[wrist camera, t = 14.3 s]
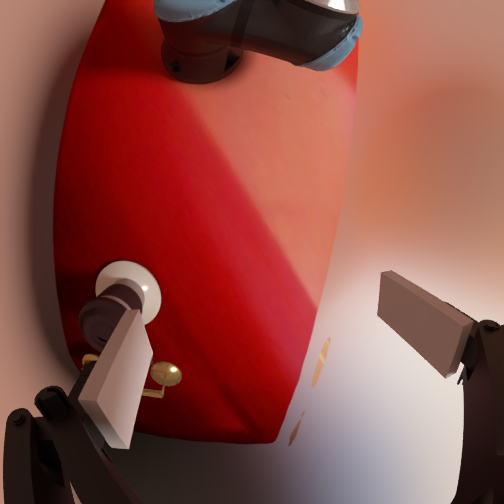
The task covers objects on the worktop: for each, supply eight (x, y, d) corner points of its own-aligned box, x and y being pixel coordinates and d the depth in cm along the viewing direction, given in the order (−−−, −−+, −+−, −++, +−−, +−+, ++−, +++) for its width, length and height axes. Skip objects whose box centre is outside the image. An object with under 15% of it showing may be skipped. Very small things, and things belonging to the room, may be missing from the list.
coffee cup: (132, 261, 47) (104, 293, 33) (161, 304, 50) (145, 348, 35) (96, 285, 47) (63, 321, 33) (125, 324, 50) (102, 369, 36)
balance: (86, 342, 51) (61, 381, 37) (181, 336, 54) (173, 382, 39) (95, 362, 53) (74, 403, 39) (187, 358, 55) (182, 406, 41)
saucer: (90, 264, 47) (87, 266, 46) (153, 255, 48) (152, 256, 47) (108, 325, 51) (106, 328, 50) (168, 320, 52) (167, 323, 51)
